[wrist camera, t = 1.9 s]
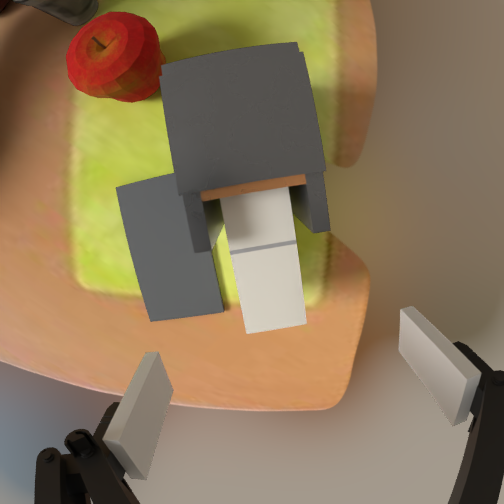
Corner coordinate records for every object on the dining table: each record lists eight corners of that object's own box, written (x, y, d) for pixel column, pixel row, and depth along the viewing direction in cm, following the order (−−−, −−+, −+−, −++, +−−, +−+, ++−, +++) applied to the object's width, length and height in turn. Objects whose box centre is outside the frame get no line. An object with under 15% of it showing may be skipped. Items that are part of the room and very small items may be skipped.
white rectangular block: (247, 289, 35) (246, 334, 25) (223, 163, 31) (212, 159, 21) (291, 281, 35) (306, 324, 25) (271, 154, 31) (281, 147, 21)
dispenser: (214, 222, 33) (192, 257, 20) (192, 101, 29) (156, 60, 16) (300, 208, 32) (334, 233, 19) (279, 86, 29) (299, 36, 16)
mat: (151, 319, 35) (150, 321, 35) (117, 187, 31) (115, 187, 31) (224, 309, 35) (223, 312, 35) (195, 168, 31) (194, 168, 31)
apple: (97, 108, 29) (37, 88, 18) (116, 42, 27) (68, 2, 15) (166, 114, 30) (124, 88, 18) (185, 45, 27) (157, -7, 16)
